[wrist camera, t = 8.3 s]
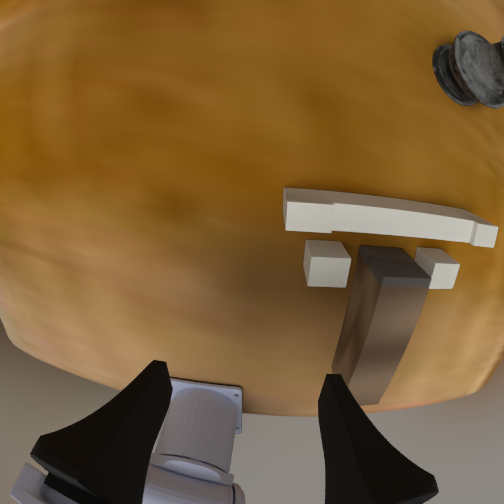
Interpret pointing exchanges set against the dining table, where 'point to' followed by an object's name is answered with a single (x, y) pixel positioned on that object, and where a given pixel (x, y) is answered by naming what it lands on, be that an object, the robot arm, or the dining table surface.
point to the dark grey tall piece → (471, 70)
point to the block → (379, 320)
